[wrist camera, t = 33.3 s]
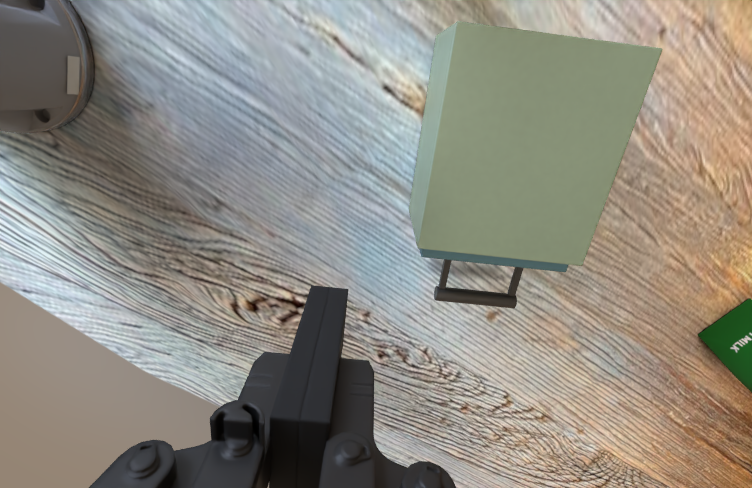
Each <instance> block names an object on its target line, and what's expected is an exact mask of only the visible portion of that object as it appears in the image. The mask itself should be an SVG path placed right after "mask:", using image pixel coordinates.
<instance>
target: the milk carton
mask: <svg viewBox="0 0 752 488" xmlns="http://www.w3.org/2000/svg"><path fill="white" fill-rule="evenodd" d="M698 336H699V337H700V338H701V339H702V340H703V341H704V342H705V344H706V345H707V346H708V347H709V348H710V349H711V350H712V351H713V352H714V354H715V355H716V356H717V357H718V358H719V359H720V360H721V361H722V363H723V364H724V365H725V366H726V367H727V368H728V369H729V370H730V371H731V372H732V373H733V374H734V376H735V377H736V378H737V379H738V380H739V381H740V382H741V383H742V384H743V385H744V386H745V387H747V388H748V389H749V390H750V391H751V392H752V300H751V299H748V300H746V301H745V302H744V303H742V304H741V305H739V306H738V307H736V308H735V309H734V310H732V311H731V312H729V313H728V314H727V315H725V316H724V317H722V318H721V319H719V320H718V321H717V322H715V323H714V324H712V325H711V326H709V327H708V328H707V329H705V330H704V331H702V332H701V333H700V334H698Z"/></svg>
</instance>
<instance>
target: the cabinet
mask: <svg viewBox="0 0 752 488" xmlns="http://www.w3.org/2000/svg"><path fill="white" fill-rule="evenodd" d="M661 52H662V48H654V47H647V46H639V45H632V44H624V43H617V42H609V41H602V40H594V39H587V38H579V37H572V36H564V35H557V34H549V33H542V32H534V31H527V30H519V29H512V28H504V27H497V26H489V25H482V24H474V23H466V22H459V21H458V22H456V23H455V24H453V25H452V26H450V27H449V28H447V29H446V30H444V31H443V32H441V33H440V34H438V35H437V36H436V39H435V46H434V52H433V58H432V65H431V71H430V77H429V84H428V90H427V96H426V103H425V109H424V116H423V122H422V128H421V135H420V141H419V147H418V154H417V160H416V166H415V173H414V179H413V186H412V192H411V198H410V205H409V212H410V217H411V221H412V225H413V230H414V234H415V238H416V243H417V247H418V248H420V249H429V250H438V251H447V252H457V253H466V254H475V255H485V256H494V257H503V258H513V259H522V260H531V261H540V262H550V263H559V264H568V265H578V266H582V265H583V262H584V259H585V257H586V254H587V251H588V249H589V246H590V243H591V240H592V238H593V235H594V232H595V230H596V227H597V224H598V222H599V219H600V216H601V214H602V211H603V208H604V205H605V203H606V200H607V197H608V195H609V192H610V189H611V187H612V184H613V181H614V179H615V176H616V173H617V170H618V168H619V165H620V162H621V160H622V157H623V154H624V152H625V149H626V146H627V144H628V141H629V138H630V135H631V133H632V130H633V127H634V125H635V122H636V119H637V117H638V114H639V111H640V109H641V106H642V103H643V100H644V98H645V95H646V92H647V90H648V87H649V84H650V82H651V79H652V76H653V74H654V71H655V68H656V65H657V63H658V60H659V57H660V55H661Z"/></svg>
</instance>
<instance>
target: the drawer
mask: <svg viewBox="0 0 752 488" xmlns="http://www.w3.org/2000/svg"><path fill="white" fill-rule="evenodd" d="M419 249H420V248H419ZM420 253H421V257H428V258H437V259H444V262H443V267H442V272H441V277H440V281H439V286H436V287H435V291H434V299H435V300H437V301H447V302H456V303H466V304H476V305H486V306H496V307H505V308H515V307H516V304H517V298H516V295H515V294H516V291H517V287H518V284H519V281H520V277H521V274H522V271H523V268H531V269H540V270H550V271H559V272H566V270H567V268H568V264H559V263H550V262H540V261H531V260H522V259H513V258H503V257H494V256H485V255H475V254H466V253H457V252H447V251H438V250H429V249H420ZM451 260H456V261H465V262H475V263H484V264H493V265H503V266H512V267H515V269H514V272H513V276H512V279H511V283H510V286H509V290H508V294H506V293H497V292H487V291H477V290H468V289H458V288H448V287H446V283H447V278H448V274H449V269H450V265H451Z"/></svg>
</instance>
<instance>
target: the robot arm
mask: <svg viewBox="0 0 752 488" xmlns="http://www.w3.org/2000/svg"><path fill="white" fill-rule="evenodd" d="M93 80H94V63H93V56H92V51H91V47H90V43H89V40H88V37H87V34H86V32H85V29H84V27H83V25H82V23H81V21H80V18H79V17H78V15H77V13H76V11H75V10H74V8H73V7H72V5H71V4H70V2H69V1H68V0H0V131H4V132H11V133H36V132H42V131H47V130H53V129H56V128H59V127H62V126H64V125H66V124H68V123H69V122H71V121H72V120H73V119H75V118H76V117H77V116H78V115H79V114H80V113H81V111H82V110H83V108H84V107H85V105H86V103H87V102H88V99H89V97H90V94H91V90H92V86H93ZM347 298H348V289H342V288H332V287H322V286H312V285H311V289H310V292H309V295H308V298H307V301H306V304H305V308H304V311H303V314H302V317H301V320H300V323H299V327H298V330H297V333H296V336H295V339H294V342H293V346H292V349H291V352H290V354H282V353H271V352H264V353H263V354H262V355H261V356H260V357H259V358H258V359H257V360H256V361H255V362H254V363H253V366H252V368H251V370H250V373H249V376H248V377H247V380H246V382H245V385H244V387H243V389H242V391H241V394H240V396H239V398H238V400H235V401H232V402H229V403H226V404H224V405H223V406H221V407H220V408H218V409H217V410H216V411H215V412H214V413H213V415H212V416H211V417H210V426H211V439H212V440H211V441H209V442H207V443H205V444H202V445H199V446H196V447H191V448H186V449H181V450H176V451H174V450H173V448H172V446H171V445H170V444H168V443H166V442H165V441H160V440H150V441H145V442H141V443H139V444H137V445H135V446H133V447H131V448H129V449H128V450H127V451H125V452H124V453H123V454H122V455H120V456H119V457H118V458H117V459H116V460H115V461H114V462H113V463H112V464H111V465H110V467H109V468H108V469H107V470H106V471H105V472H104V473H103V474H102V475H101V476H100V477H99V478H98V479H97V480H96V481H95V482H94V483H93V484H92V485H91V486H90V487H89V488H267V487H268V483H269V488H456V486H455V484H454V482H453V480H452V479H451V477H450V476H449V474H448V473H447V472H446V471H445V470H444V469H443V468H441V467H440V466H439V465H436V464H434V463H431V462H423V461H419V462H417V463H414V464H411V465H410V466H409V467H408V468H407V467H404V466H402V465H399V464H397V463H395V462H393V461H391V460H389V459H387V458H386V457H385V456H384V455H383V454H382V453H381V452H380V451H379V449H378V448H377V446H376V444H375V441H374V435H373V427H374V371H373V369H372V367H371V365H370V363H369V361H366V360H355V359H345V358H341V354H342V347H343V338H344V328H345V318H346V308H347Z"/></svg>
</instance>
